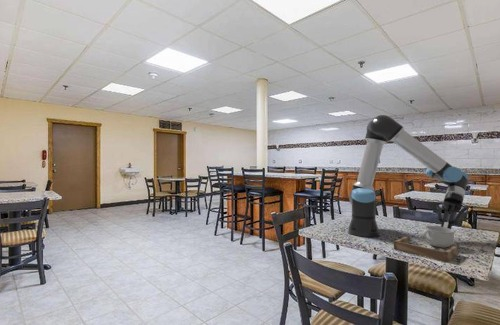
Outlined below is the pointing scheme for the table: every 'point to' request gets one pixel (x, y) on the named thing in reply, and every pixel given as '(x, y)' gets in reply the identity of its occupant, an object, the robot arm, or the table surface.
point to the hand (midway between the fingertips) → (444, 234)
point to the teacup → (438, 236)
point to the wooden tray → (425, 250)
